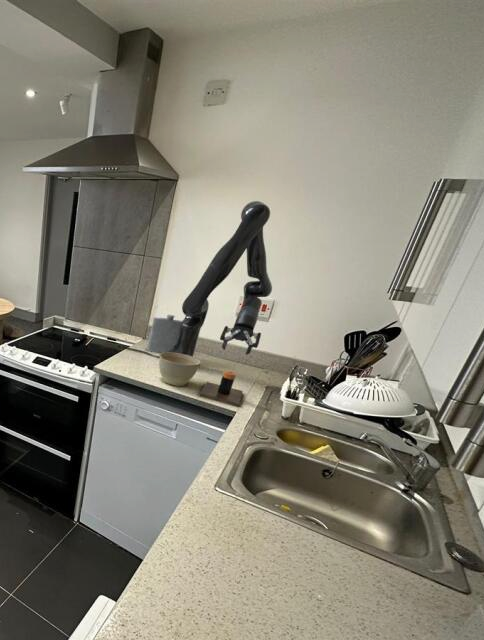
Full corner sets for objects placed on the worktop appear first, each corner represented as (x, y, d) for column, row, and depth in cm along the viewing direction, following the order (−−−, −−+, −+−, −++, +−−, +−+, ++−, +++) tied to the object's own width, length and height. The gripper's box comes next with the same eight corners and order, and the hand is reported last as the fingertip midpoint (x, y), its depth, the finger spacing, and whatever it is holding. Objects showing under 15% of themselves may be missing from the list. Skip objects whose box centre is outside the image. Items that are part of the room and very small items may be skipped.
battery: (217, 392, 159) (223, 371, 155) (218, 389, 162) (225, 368, 159) (228, 395, 157) (235, 374, 153) (230, 392, 160) (236, 371, 156)
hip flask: (176, 353, 208) (186, 316, 200) (178, 355, 205) (187, 318, 197) (146, 348, 211) (154, 312, 203) (147, 351, 207) (155, 314, 199)
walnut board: (199, 395, 157) (200, 393, 157) (206, 384, 170) (206, 381, 169) (237, 406, 151) (238, 403, 150) (241, 393, 163) (242, 390, 163)
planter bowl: (201, 386, 167) (208, 362, 163) (176, 392, 159) (183, 367, 155) (170, 372, 180) (176, 350, 175) (146, 377, 172) (151, 354, 167)
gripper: (229, 311, 166) (217, 342, 162) (267, 318, 159) (256, 351, 155) (227, 321, 172) (215, 351, 168) (263, 328, 166) (252, 360, 161)
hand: (235, 351), depth 162 cm, fingers open, 8 cm apart
